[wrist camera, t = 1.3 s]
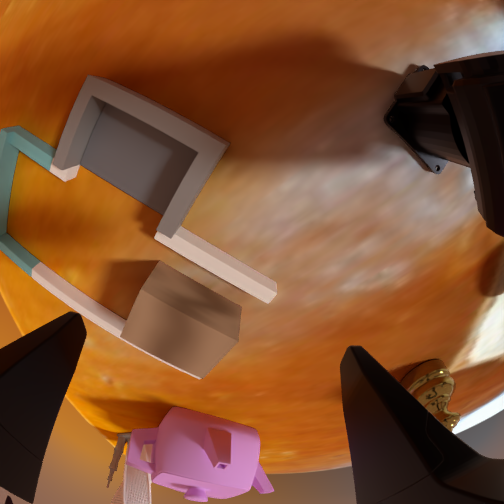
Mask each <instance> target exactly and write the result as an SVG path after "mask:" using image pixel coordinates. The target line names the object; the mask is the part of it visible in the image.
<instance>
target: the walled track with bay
mask: <svg viewBox="0 0 504 504" xmlns="http://www.w3.org/2000/svg"><path fill="white" fill-rule="evenodd" d="M229 145H230V143H229V142H227V141H225V140H224V139H222V138H220V137H219V136H217V135H215V134H214V133H212V132H210V131H208V130H207V129H205V128H203V127H201V126H200V125H198V124H196V123H194V122H193V121H191V120H189V119H187V118H185V117H183V116H182V115H180V114H178V113H176V112H174V111H172V110H170V109H169V108H167V107H165V106H163V105H161V104H159V103H157V102H155V101H153V100H151V99H149V98H147V97H145V96H143V95H141V94H139V93H137V92H135V91H133V90H130V89H128V88H126V87H124V86H122V85H120V84H118V83H115V82H113V81H111V80H109V79H106V78H102V77H97V76H92V75H88V76H87V78H86V80H85V82H84V84H83V86H82V88H81V90H80V92H79V94H78V97H77V99H76V101H75V103H74V106H73V108H72V110H71V113H70V115H69V118H68V120H67V123H66V125H65V128H64V131H63V133H62V136H61V139H60V142H59V145H58V148H57V150H56V149H55V148H53V147H52V146H50V145H48V144H47V143H45V142H44V141H42V140H41V139H39V138H37V137H36V136H34V135H33V134H31V133H30V132H28V131H27V130H25V129H23V128H22V127H20V126H13V127H8V128H3V129H1V132H0V250H1V251H2V252H4V253H5V254H6V255H7V256H8V257H9V258H10V259H11V260H12V261H13V262H14V263H16V264H17V265H18V266H19V267H20V268H21V269H22V270H24V271H25V272H26V273H27V274H28V275H30V276H31V277H32V278H33V279H34V280H36V281H37V282H38V283H39V284H41V285H42V286H43V287H44V288H46V289H47V290H48V291H50V292H51V293H52V294H54V295H55V296H56V297H58V298H59V299H60V300H62V301H63V302H64V303H66V304H67V305H69V306H70V307H71V308H73V309H74V310H76V311H77V312H79V313H80V314H82V315H83V316H85V317H86V318H88V319H89V320H91V321H92V322H94V323H95V324H97V325H98V326H100V327H102V328H103V329H105V330H106V331H108V332H110V333H111V334H113V335H115V336H116V337H118V338H120V339H121V340H123V341H125V342H127V343H128V344H130V345H132V346H134V347H135V348H137V349H139V350H141V351H143V352H145V353H146V354H148V355H150V356H152V357H154V358H156V359H158V360H160V361H162V362H164V363H166V364H168V365H170V366H172V367H174V368H176V369H178V370H180V371H182V372H185V373H187V374H189V375H191V376H193V377H196V378H198V379H201V378H200V377H197V376H195V375H193V374H191V373H189V372H186V371H184V370H182V369H180V368H178V367H176V366H174V365H172V364H170V363H168V362H166V361H164V360H162V359H160V358H158V357H156V356H154V355H152V354H150V353H148V352H146V351H144V350H143V349H141V348H139V347H137V346H135V345H134V344H132V343H130V342H128V341H127V340H125V339H123V338H121V337H120V335H121V333H122V330H123V328H124V326H125V323H126V320H125V319H123V318H121V317H120V316H118V315H117V314H115V313H113V312H112V311H110V310H108V309H107V308H105V307H104V306H102V305H101V304H99V303H98V302H96V301H94V300H93V299H91V298H90V297H88V296H87V295H85V294H84V293H83V292H81V291H80V290H78V289H77V288H75V287H74V286H72V285H71V284H70V283H68V282H67V281H65V280H64V279H63V278H61V277H60V276H59V275H57V274H56V273H55V272H53V271H52V270H51V269H49V268H48V267H47V266H46V265H44V264H43V263H42V262H40V261H39V260H38V259H37V258H35V257H34V256H33V255H32V254H31V253H29V252H28V251H27V250H26V249H25V248H23V247H22V246H21V245H20V244H19V243H18V242H16V241H15V240H14V239H13V238H12V237H11V236H10V235H9V234H7V233H6V229H7V217H8V208H9V201H10V194H11V187H12V182H13V176H14V171H15V166H16V162H17V157H18V153H19V150H20V151H21V152H23V153H24V154H26V155H27V156H28V157H30V158H31V159H33V160H34V161H35V162H37V163H38V164H40V165H41V166H43V167H44V168H45V169H47V170H48V171H50V172H51V173H53V174H54V175H56V176H57V177H59V178H60V179H62V180H63V181H67V180H70V179H72V178H75V177H76V175H77V172H78V169H79V166H80V165H82V166H83V167H85V168H87V169H88V170H90V171H91V172H93V173H95V174H96V175H98V176H99V177H101V178H103V179H104V180H106V181H108V182H109V183H111V184H112V185H114V186H116V187H117V188H119V189H120V190H122V191H124V192H125V193H127V194H129V195H130V196H132V197H134V198H135V199H137V200H138V201H140V202H142V203H143V204H145V205H147V206H148V207H150V208H152V209H153V210H155V211H157V212H158V213H160V214H162V215H163V217H162V219H161V221H160V223H159V225H158V227H157V229H156V230H157V233H156V235H155V237H154V239H156V240H157V241H159V242H161V243H162V244H164V245H166V246H167V247H169V248H171V249H172V250H174V251H176V252H177V253H179V254H181V255H182V256H184V257H186V258H187V259H189V260H191V261H193V262H194V263H196V264H198V265H199V266H201V267H203V268H205V269H206V270H208V271H210V272H212V273H213V274H215V275H217V276H219V277H220V278H222V279H224V280H226V281H227V282H229V283H231V284H233V285H235V286H236V287H238V288H240V289H242V290H244V291H245V292H247V293H249V294H251V295H253V296H254V297H256V298H258V299H260V300H262V301H264V302H265V303H267V304H269V302H270V301H271V300H272V299H273V298H274V297H275V296H276V294H277V285H276V282H275V281H273V280H271V279H270V278H268V277H266V276H264V275H263V274H261V273H259V272H258V271H256V270H254V269H252V268H251V267H249V266H247V265H246V264H244V263H242V262H240V261H239V260H237V259H235V258H234V257H232V256H230V255H229V254H227V253H225V252H223V251H222V250H220V249H218V248H217V247H215V246H213V245H212V244H210V243H208V242H207V241H205V240H203V239H202V238H200V237H198V236H196V235H195V234H193V233H191V232H190V231H188V230H186V229H185V228H183V227H181V224H182V222H183V221H184V219H185V217H186V215H187V214H188V212H189V210H190V208H191V207H192V205H193V203H194V201H195V200H196V198H197V196H198V195H199V193H200V191H201V190H202V188H203V186H204V185H205V183H206V181H207V180H208V178H209V176H210V175H211V173H212V171H213V170H214V168H215V167H216V165H217V163H218V162H219V160H220V159H221V157H222V156H223V154H224V152H225V151H226V149H227V148H228V146H229Z"/></svg>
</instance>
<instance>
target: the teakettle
mask: <svg viewBox="0 0 504 504" xmlns="http://www.w3.org/2000/svg"><path fill="white" fill-rule="evenodd" d="M144 444H153V445H152V451H151V463H150V462H147V461H143V460H140V456H141V452H142V448H143V445H144ZM259 452H260V439H259V436H258V433H257V430H256V429H254V428H252V427H249V426H246V425H243V424H239V423H236V422H233V421H229V420H226V419H223V418H219V417H216V416H212V415H208V414H204V413H201V412H197V411H193V410H189V409H186V408H181V407H172V408H171V409H170V410H169V412H168V413H167V414H166V416H165V417H164V419H163V420H162V422H161V423H160V425H159V427H158V428H146V429H133V430H132V433H131V437H130V443H129V448H128V454H127V460H126V464H127V465H129V466H131V467H134V468H136V469H139V470H141V471H144V472H146V473H149V474H151V481H152V482H153V483H156V484H158V485H162V486H165V487H168V488H172V489H175V490H176V491H180V492H184V493H185V495H184V498H186V499H188V500H192V501H197V502H206V501H208V499H207V497H214V498H221V499H225V498H230V497H233V496H237V495H240V494H243V493H245V492H247V491H249V490H250V489H251V486H254V487H255V488H256V489H257V490H258V491H259V493H260V494H261V493H270V492H273V491H274V489H273V487H272V485H271V483H270V482H269V480H268V478H267V476H266V474H265V472H264V471H263V469H262V467H261V465H260V463H259V461H258V460H259Z"/></svg>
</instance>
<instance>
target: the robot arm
mask: <svg viewBox="0 0 504 504" xmlns="http://www.w3.org/2000/svg"><path fill="white" fill-rule="evenodd" d="M434 67H435V68H433V69H429V68H428V67H427V66H425V65H422V66H419V67H418V68H417V70H416V71H415V73H412V74H409V75H408V76H407V78H406V79H405V81H404V82H403V84H402V85H401V87H400V88H399V89H398V91H397V92H396V94H395V99H396V100H395V101H394V103H393V104H392V106H391V107H390V109H389V110H388V111H387V113H386V114H385V116H384V121H385V123H386V124H387V125H388V126H389V127H390V128H391V129H392V130H393V131H394V132H395V133H396V134H397V135H398V136H399V137H400V138H401V139H402V140H403V141H404V142H405V143H406V144H407V145H408V146H409V147H410V148H411V149H412V150H413V151H414V152H415V153H416V154H417V155H418V157H419V158H420V159H421V160H422V161H423V162H424V163H425V164H426V165H427V167H428V168H429V169H430V170H431V171H432V172H433V173H435V174H440V173H441V172H442V170H443V169H444V167H445V166H446V164H447V163H448V161H451V162H454V163H457V164H460V165H463V166H466V167H469V168H471V173H472V177H473V182H474V188H475V191H474V194H475V199H476V201H477V206H478V211H479V212H480V214H481V215H482V217H483V219H484V220H485V221H486V226H487V227H488V228H489V229H490V230H492V231H493V232H495V233H496V234H498V235H500V236H502V237H504V51H495V52H488V53H481V54H476V55H471V56H467V57H462V58H458V59H454V60H450V61H446V62H442V63H439V64H435V65H434ZM423 70H424V71H423ZM390 116H391V117H392V118H393V121H392V122H390V121H389V118H390ZM436 165H437V170H436V169H435V167H436ZM86 335H87V332H86V328H85V325H84V322H83V319H82V317H81V315H80V314H79V313H76V312H71V311H70V312H68V313H66V314H64V315H62V316H60V317H58V318H56V319H54V320H53V321H51V322H49V323H47V324H45V325H43V326H41V327H39V328H38V329H36V330H34V331H32V332H30V333H28V334H26V335H25V336H23V337H21V338H19V339H17V340H16V341H14V342H12V343H10V344H8V345H7V346H5V347H3V348H1V349H0V504H13V503H12V500H11V498H10V497H9V496H8V492H10V493H13V494H14V495H16V496H18V497H20V498H22V499H23V500H25V501H27V502H29V503H31V504H32V503H33V501H34V497H35V492H36V487H37V483H38V478H39V474H40V470H41V466H42V463H43V462H42V461H43V459H44V455H45V452H46V448H47V445H48V442H49V439H50V435H51V432H52V429H53V426H54V423H55V421H56V418H57V415H58V412H59V410H60V407H61V404H62V401H63V399H64V397H65V394H66V392H67V389H68V387H69V384H70V382H71V379H72V377H73V374H74V372H75V369H76V366H77V363H78V360H79V357H80V354H81V351H82V348H83V345H84V342H85V339H86ZM340 374H341V388H342V403H343V412H344V418H345V423H346V429H347V435H348V442H349V448H350V455H351V461H352V468H353V475H354V483H355V492H356V501H357V504H504V459H492V458H487V457H485V456H483V455H481V454H479V453H478V452H476V451H475V450H474V449H472V448H471V447H469V445H467V444H466V443H465V442H463V441H462V440H461V439H460V438H458V437H457V436H456V435H455V434H453V433H452V432H451V431H450V430H449V429H447V428H446V427H445V426H444V425H443V424H442V423H441V422H440V421H439V420H438V419H436V418H435V417H434V416H433V415H432V414H431V413H430V412H428V410H427V409H426V408H425V407H424V406H423V405H422V404H421V403H420V402H419V401H418V400H417V399H416V398H415V397H414V396H413V395H412V394H411V393H410V392H409V391H407V390H406V389H405V388H404V387H403V386H402V385H401V384H400V383H399V382H398V381H397V380H396V379H395V378H394V377H393V376H392V375H391V374H390V373H389V372H388V371H387V370H386V369H385V368H384V367H383V366H382V365H381V364H380V363H378V362H377V361H376V360H375V359H374V358H373V357H372V356H371V355H370V354H369V353H368V352H367V351H366V350H365V349H364V348H363V347H362V346H349V347H348V348H347V350H346V352H345V354H344V357H343V359H342V361H341V364H340Z"/></svg>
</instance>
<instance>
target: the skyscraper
mask: <svg viewBox="0 0 504 504" xmlns="http://www.w3.org/2000/svg"><path fill="white" fill-rule="evenodd" d="M131 433H132V432H130V433H122V434H117V436H118V441H117V445H116V447H115V448H114V454H113V459H112V462H111V464H110V466H109V468H110V474H109V477H108V484H107V488H108V487H109V483H110V481H112V476H113V473H114V471H117V467H118V462H119V459H120V457H121V455H122V453H123V449H124V445H125V443H126V441H127V442H128V445H127V451H126V458H125V465H124V475H123V482H122V483H121V485H120V487H119V488H118V490H117V492H116V494H115V495H114V497H113V499H112V501H111V504H151V485H150V484H151V482H152V481H151V474H149V473H146V472H144V471H141V470H139V469H136V468H134V467H131V466H129V465H127V464H126V460H127V454H128V448H129V443H130V437H131ZM152 445H153V444H144V445H143V448H142V452H141V456H140V460H143V461H147V462H150V463H151V451H152Z"/></svg>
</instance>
